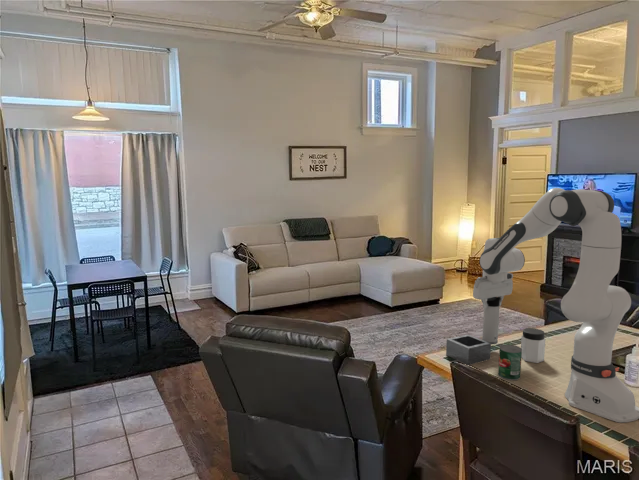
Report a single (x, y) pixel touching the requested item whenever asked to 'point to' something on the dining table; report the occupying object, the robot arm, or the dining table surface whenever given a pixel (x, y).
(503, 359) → the canned tomato
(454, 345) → the grey square open box
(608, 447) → the dining table surface
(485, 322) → the travel mug
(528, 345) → the jar
